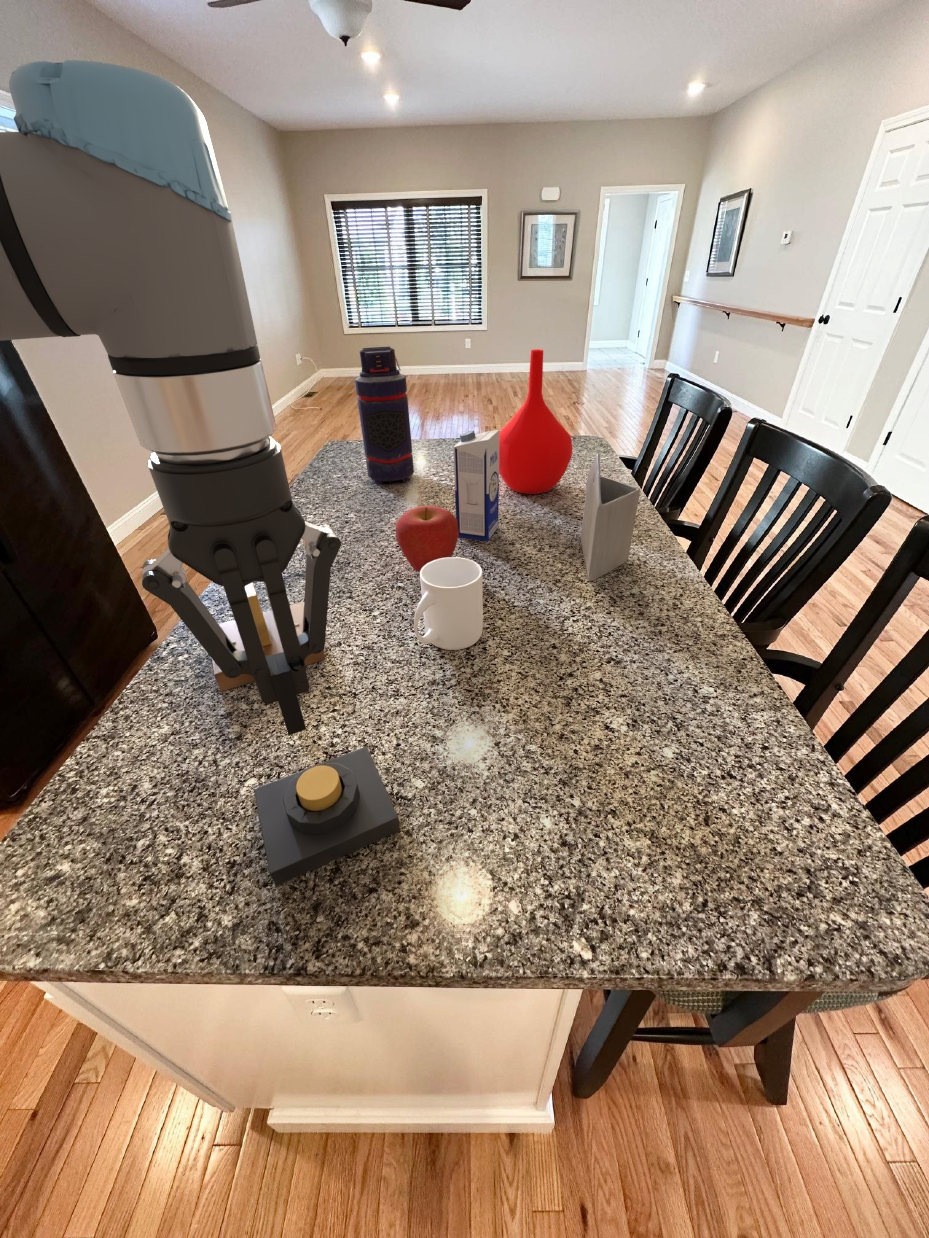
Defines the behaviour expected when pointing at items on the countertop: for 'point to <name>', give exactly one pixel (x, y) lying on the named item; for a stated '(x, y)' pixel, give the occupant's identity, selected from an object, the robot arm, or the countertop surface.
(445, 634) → the mug
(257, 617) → the thumbturn
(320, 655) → the plate
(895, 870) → the countertop surface
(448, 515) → the apple
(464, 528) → the milk carton
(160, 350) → the robot arm
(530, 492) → the vase
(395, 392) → the navy water bottle
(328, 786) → the button
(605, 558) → the planter
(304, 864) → the push button housing
